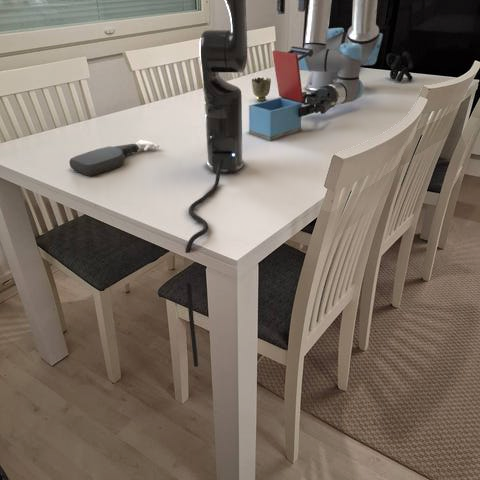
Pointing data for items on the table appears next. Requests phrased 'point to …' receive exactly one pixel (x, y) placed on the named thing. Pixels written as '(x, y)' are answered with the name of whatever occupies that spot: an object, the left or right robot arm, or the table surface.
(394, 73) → the squiggle
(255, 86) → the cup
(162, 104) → the table surface
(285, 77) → the lid
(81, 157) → the wireless presentation dongle
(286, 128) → the chest
